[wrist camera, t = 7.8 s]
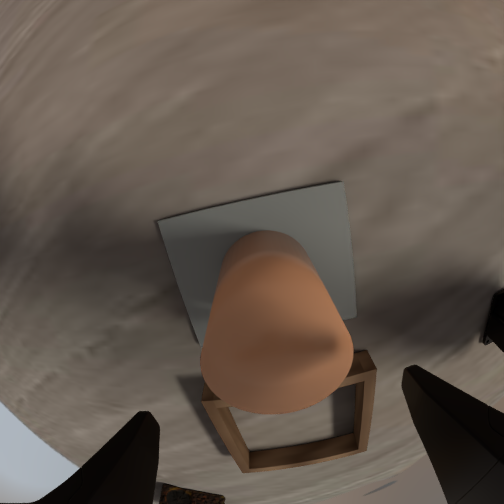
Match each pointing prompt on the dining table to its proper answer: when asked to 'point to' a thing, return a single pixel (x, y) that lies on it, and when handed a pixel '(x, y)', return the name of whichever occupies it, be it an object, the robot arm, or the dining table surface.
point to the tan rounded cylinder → (273, 329)
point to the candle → (187, 496)
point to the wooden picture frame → (306, 453)
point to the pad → (260, 219)
